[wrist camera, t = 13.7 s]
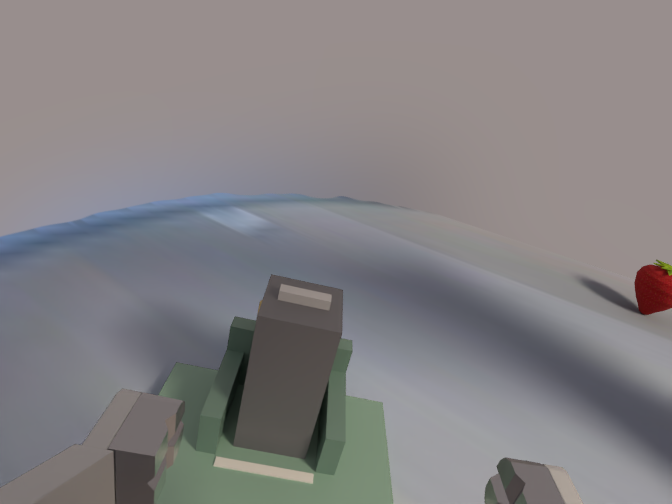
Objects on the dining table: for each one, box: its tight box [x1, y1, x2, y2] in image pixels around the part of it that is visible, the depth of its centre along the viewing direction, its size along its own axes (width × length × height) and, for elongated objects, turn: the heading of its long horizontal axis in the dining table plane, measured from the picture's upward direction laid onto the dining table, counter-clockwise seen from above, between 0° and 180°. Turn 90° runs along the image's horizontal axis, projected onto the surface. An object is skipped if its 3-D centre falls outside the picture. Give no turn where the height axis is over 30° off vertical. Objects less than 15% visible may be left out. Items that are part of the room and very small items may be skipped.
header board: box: [156, 300, 393, 504], centre depth 26 cm, size 12×16×8 cm
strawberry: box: [635, 260, 672, 315], centre depth 63 cm, size 6×8×10 cm
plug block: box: [233, 274, 343, 459], centre depth 26 cm, size 5×5×11 cm
